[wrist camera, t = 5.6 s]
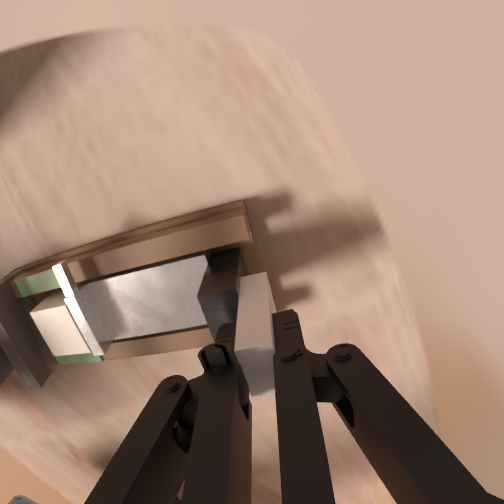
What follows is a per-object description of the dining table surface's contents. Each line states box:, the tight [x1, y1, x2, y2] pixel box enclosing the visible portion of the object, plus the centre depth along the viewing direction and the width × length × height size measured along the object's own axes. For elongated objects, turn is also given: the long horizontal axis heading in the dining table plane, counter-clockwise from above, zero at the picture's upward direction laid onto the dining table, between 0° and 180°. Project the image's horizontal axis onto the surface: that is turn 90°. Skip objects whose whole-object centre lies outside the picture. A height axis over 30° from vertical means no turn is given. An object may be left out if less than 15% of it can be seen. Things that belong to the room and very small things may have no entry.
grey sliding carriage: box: [52, 247, 249, 356], centre depth 19 cm, size 12×7×6 cm, turn 104°
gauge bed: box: [0, 200, 263, 388], centre depth 21 cm, size 22×9×6 cm, turn 104°
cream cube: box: [30, 282, 91, 356], centre depth 21 cm, size 4×4×4 cm
